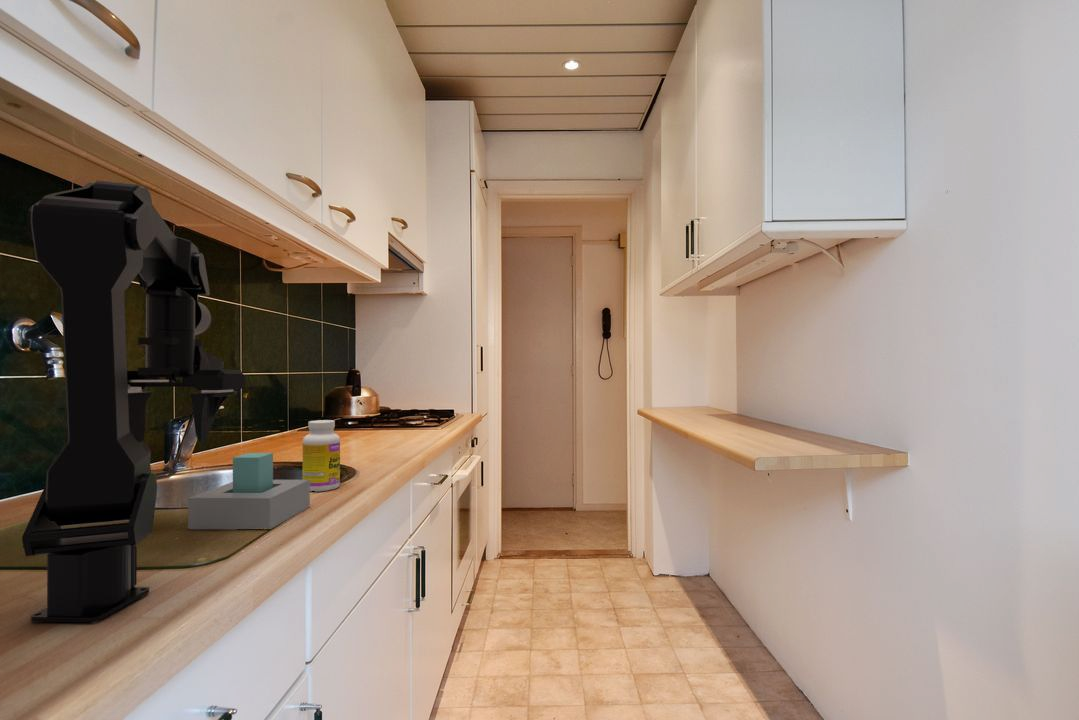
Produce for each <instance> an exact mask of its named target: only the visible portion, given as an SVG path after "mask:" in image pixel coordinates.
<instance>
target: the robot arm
mask: <svg viewBox="0 0 1079 720" xmlns="http://www.w3.org/2000/svg"><path fill="white" fill-rule="evenodd" d="M25 219H26V229H27V232H28V235H29V237H30V239H31V240H32V242H33V249H34V255H35V260H36V261H37V263H38V264H39V265H40V266H41V268H43V270H44V271H45V272H46V273H47V275H48V276H49V277H50V279H52V281H54V283H55V284H56V285H57V287H58V288H59V290H60V297H61V313H62V314H61V316H62V317H61V318H62V339H63V358H64V359H63V360H64V376H65V377H64V379H65V380H64V381H65V401H66V404H65V405H66V420H67V421H66V422H67V442H66V443H65V445H64V446H63V448H62V449H61V450H60V451H59V453H58V455H57V456H56V457H55V459H54V460H53V462H52V463H51V465H49V467H48V468H47V470H46V481H45V483H46V484H45V486H44V488H43V490H42V492H41V494H40V496H39V499H38V501H37V503H36V505H35V507H34V510H33V512H32V514H31V516H30V519H29V521H28V524H27V526H26V527H25V529H24V532H23V534H22V537H21V541H22V547H23V550H24V554H25V556H26V557H34V556H36V555H44V554H45V555H46V554H47V556H46V560H47V561H46V563H47V564H46V567H47V568H46V572H47V573H46V578H47V579H46V608H43V609H42V610H39V611H37V612H35V613H33V614H31V615H30V622H42V623H43V622H51V623H53V622H54V623H55V622H56V623H57V622H58V623H62V622H63V623H71V622H72V623H96V622H99V621H101V620H103V619H104V618H107V617H108V616H110V615H112V614H114V613H115V612H117V611H119V610H121V609H123V608H124V607H126V606H128V605H130V604H131V603H134V602H135V601H137V600H139V599H140V598H142V597H145V595H147V594H150V587H146V586H145V587H144V586H143V587H142V586H137V582H138V580H137V579H138V577H137V575H138V573H137V569H138V568H137V564H138V563H137V560H138V559H137V558H138V555H137V553H138V552H137V551H138V550H137V546H138V545H139V543H140V542H142V541H143V540H144V539H145V538H147V536H149V535H150V534H151V533H152V532H153V530H154V529H153V527H154V518H155V509H156V501H157V491H158V483H157V482H158V481H157V477H156V475H155V473H153V472H152V470H151V469H152V467H151V448H150V446H149V445H148V444H147V442H144V440H145V433H146V417H147V416H146V414H147V413H146V411H147V410H146V409H147V408H146V407H147V402H148V401H149V399H150V398H151V396H152V394H153V391H142V390H147V389H148V388H155V387H156V388H157V387H158V388H164V387H165V388H166V387H167V388H169V387H170V388H171V387H173V388H174V387H178V388H181V387H182V388H183V387H187V388H188V387H189V388H190V387H191V388H193V387H194V389H196V391H201V392H192V393H191V392H190V402H191V408H192V414H193V415H192V417H193V425H194V432H195V434H196V435H195V436H196V438H197V442H198V443H204V442H205V441H207V438H208V435H209V434H210V431H211V429H212V427H213V424H214V421H215V418H216V417H217V414H218V412H219V411H220V408H221V406H222V404H223V403H224V402H225V401H226V400H227V399H228V398H230V397H231V396H235V395H236V394H237V393H238V391H234V390H244V389H246V383H247V381H246V377H245V375H244V373H243V372H242V370H241V369H223V368H224V364H225V362H224V361H223V360H222V359H220V358H218V357H217V356H214V355H213V354H211V353H209V352H205V351H204V344H203V342H202V339H200V338H199V339H197V338H196V336H197V335H200V334H203V333H204V332H206V331H207V330H208V329H209V327H210V325H211V323H212V315H211V312H210V310H209V309H208V308H207V306H206V305H204V304H203V303H201V302H200V301H199V296H210V294H211V293H210V292H211V291H210V286H209V280H208V274H207V268H206V261H205V257H204V254H203V253H202V252H200V251H199V248H198V246H196V245H195V244H194V243H193V242H192V241H191V240H190V239H189V240H188V239H185V238H182V237H179V236H176V235H175V234H174V232H173V231H172V230H171V228H170V227H169V226H168V224H167V223H166V221H165V220H164V219H163V217H162V216H161V215H160V213H159V212H158V210H157V209H156V208H155V206H154V204H153V201H152V195H151V193H150V191H149V189H148V188H147V187H146V186H141V185H140V184H137V183H126V182H118V181H109V180H108V181H106V180H96V181H94V182H93V181H90V182H89V181H88V182H87V183H86V184H85V185H84V186H82V187H78V188H73V189H68V190H64V191H58V192H54V193H50V194H46V195H44V196H43V197H41V198H40V200H38V201H37V202H36V203H34V204H33V205H31V206H30V208H29V209H28V210H27V214H26V218H25ZM135 278H137V280H138V283H139V286H140V288H143V289H144V293H145V294H146V296H145V337H138V339H137V345H138V346H145V367H137V370H128V367H127V365H128V362H127V361H128V360H127V340H126V339H127V335H126V333H127V332H126V313H125V312H126V309H125V308H126V307H125V304H126V303H125V292H126V290H127V289H128V288H129V286H130V285H131V284H132V283H133V282H134V280H135ZM161 377H162V378H165V379H160V378H161ZM181 377H182V378H181ZM177 378H178V379H177ZM179 378H180V379H179ZM119 522H121V523H119ZM108 523H111V524H108ZM87 525H88V526H87ZM73 526H75V527H73ZM62 527H66V528H62Z"/></svg>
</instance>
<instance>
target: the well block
mask: <svg viewBox="0 0 1079 720" xmlns="http://www.w3.org/2000/svg"><path fill="white" fill-rule="evenodd" d="M310 493H311V491H310V480H302V479H273V488H272V489H269V490H267V491H265V492H262V493H233V481H231V482H229V483H225V484H223V485H221V486H218V487H213V488H212V489H209V490H206V491H204V492H201V493H197V494H196V495H193V496H190V497H188V498H187V505H188V506H187V512H188V513H187V521H188V522H187V527H188V528H187V530H232V531H233V530H237V529H257V528H258V529H261V528H262V529H264V528H266V529H270V530H272V529H273V528H275V527H277V526H279V525H281V524H282V523H284V522H287V521H289V519H291V518H293V517H295V516H297V515H299V514H300V513H302V512H304V511H305V510H307V509H309V508H310V507H311V503H310V502H311V494H310Z"/></svg>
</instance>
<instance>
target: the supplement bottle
mask: <svg viewBox="0 0 1079 720" xmlns="http://www.w3.org/2000/svg"><path fill="white" fill-rule="evenodd" d="M335 422H336V421H335V420H331V419H323V420H322V419H317V420H310V421H308V423H307V424H308V425H307V426H308V432H309V433H308V434H306V435H305V436H304V437H303V438H302V477H301V478H302V479H301V480H310V493H311V492H312V491H315V492H327V491H332V490H334V489H337V488H339V486H340V484H341V437H340V436H339V434H338V433H335V432H334V431H335V430H334V429H335V426H336V423H335ZM315 492H314V493H315ZM312 493H313V492H312Z"/></svg>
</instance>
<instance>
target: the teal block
mask: <svg viewBox="0 0 1079 720" xmlns="http://www.w3.org/2000/svg"><path fill="white" fill-rule="evenodd" d="M273 480H274V452H248V453H244V454H240V455H237V456H234V457H232V482H233V493H262V492H265V491H267V490H269V489H272V488H273Z"/></svg>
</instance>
